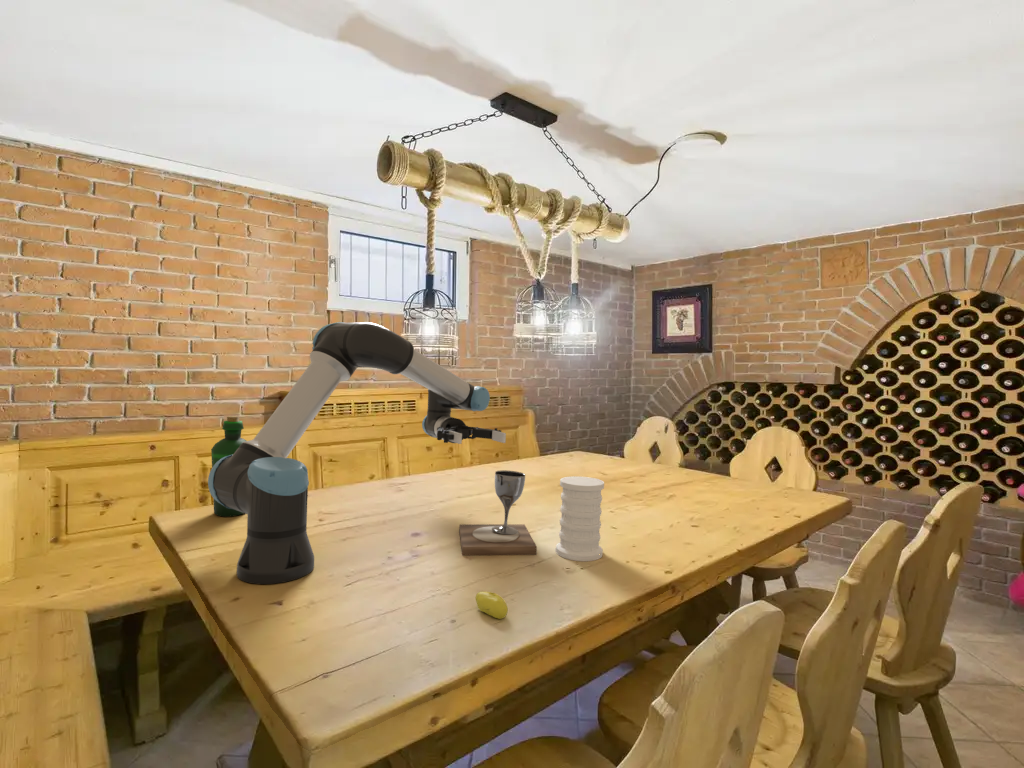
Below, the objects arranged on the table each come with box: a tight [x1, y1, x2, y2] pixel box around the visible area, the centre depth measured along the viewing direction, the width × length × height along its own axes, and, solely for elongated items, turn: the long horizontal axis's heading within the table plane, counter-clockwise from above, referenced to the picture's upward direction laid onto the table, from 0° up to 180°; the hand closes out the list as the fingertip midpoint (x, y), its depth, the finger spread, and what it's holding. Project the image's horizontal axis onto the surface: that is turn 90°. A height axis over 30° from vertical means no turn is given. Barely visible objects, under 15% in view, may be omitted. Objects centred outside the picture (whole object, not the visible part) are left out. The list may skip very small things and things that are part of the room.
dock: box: [458, 523, 537, 556], centre depth 138 cm, size 18×18×2 cm
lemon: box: [475, 590, 509, 620], centre depth 99 cm, size 4×8×4 cm, turn 38°
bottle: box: [210, 415, 247, 517], centre depth 154 cm, size 11×11×28 cm
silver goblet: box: [492, 470, 526, 534], centre depth 140 cm, size 8×8×15 cm
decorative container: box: [555, 475, 605, 562], centre depth 133 cm, size 12×12×18 cm
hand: (483, 438), depth 146 cm, fingers open, 13 cm apart
